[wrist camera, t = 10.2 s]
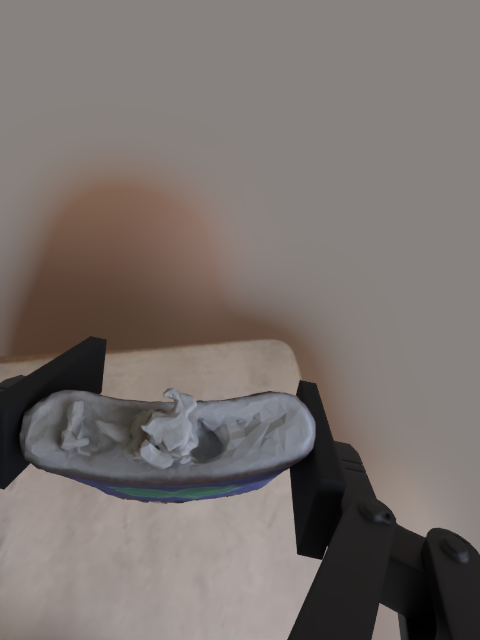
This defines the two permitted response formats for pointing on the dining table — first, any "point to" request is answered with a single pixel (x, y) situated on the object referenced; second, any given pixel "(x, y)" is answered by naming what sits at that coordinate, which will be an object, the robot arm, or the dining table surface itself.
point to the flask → (167, 443)
